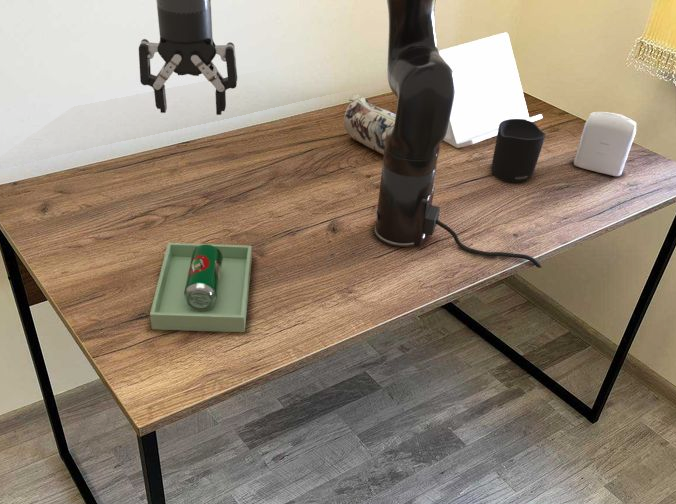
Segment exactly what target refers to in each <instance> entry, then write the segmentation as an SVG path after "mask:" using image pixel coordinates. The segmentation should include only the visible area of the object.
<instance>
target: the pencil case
mask: <svg viewBox="0 0 676 504" xmlns="http://www.w3.org/2000/svg"><path fill="white" fill-rule="evenodd" d="M349 102H350V103H349V105H348V106H347V107H346V110H345V113H344V116H343V128H344V130H345V132H346V133H347V134H348V135H349V136H350V137H351V138H352V139H353V140H354V141H357V142H359V143H360V144H362V145H364V146H365V147H367V148H369V149H371V150H373V151H375V152H377V153H379V154H381V155H383V156H384V149H385V140H386V133H387V130H388V128H389V127H390V126H391V125H393V124H395V118H396V113H393V112H391V111H389V110H387V109H385V108H381V107H379V106H376V105H374V104H372V103H370V101H369V99H367V98H366V97H364V96H363V97H362V96H360V95H359V94H354V95H352V96H351V97H350V99H349Z"/></svg>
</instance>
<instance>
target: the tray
mask: <svg viewBox="0 0 676 504" xmlns="http://www.w3.org/2000/svg"><path fill="white" fill-rule="evenodd" d="M200 245H212V246H214V247H216V248H218V249H219V250H220V252H221V253H222V256H223V261H222V267H221V274H220V280H219V286H218V293H217V299H216V301H215V303H214V304H213V305H212V306H211V307H210V308H209V309H207V310H195V309H193V308H191V307H190V306H189V305H188V304H187V302H186V299H185V297H184V291H185V286H186V282H187V277H188V272H189V267H190V263H191V258H192V253H193V251H194V250H195V248H197V247H198V246H200ZM252 249H253V245H245V244H244V245H241V244H216V243H212V244H211V243H189V242H188V243H187V242H167V245H166V249H165V253H164V257H163V261H162V264H161V268H160V272H159V275H158V280H157V283H156V288H155V292H154V296H153V300H152V304H151V307H150V308H151V309H150V312H149V318H150V326H151V330H157V331H158V330H160V331H161V330H162V331H163V330H164V331H187V332H189V331H191V332H218V333H219V332H221V333H222V332H223V333H225V332H226V333H245V331H246V321H247V314H248V313H247V312H248V303H249V293H250V292H249V291H250V283H251V282H250V281H251V273H252V264H253V263H252V262H253V251H252Z"/></svg>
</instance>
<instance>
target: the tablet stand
mask: <svg viewBox="0 0 676 504" xmlns="http://www.w3.org/2000/svg"><path fill="white" fill-rule="evenodd" d="M438 52H439V54H440V56H441V57H442V58H443V60H444V61H445V62H446V63H447V64H448V65H449V66H450V68H451V69H452V71H453V73H454V76H455V84H456V85H455V96H454V102H453V106H452V111H451V116H450V120H449V125H448V129H447V133H446V135H445V138H444V139H443V141H444V142H446V143H448V144H449V145H450V146H453V147H454V148H457V149H460V148H464V147H468V146H471V145H475V144H477V143H480V142H482V141H485V140H488V139H491V138H493V137H497V134H498V129H499V125H500V123H501V122H502V121H504V120H508V119H524V120H529V121H531V122H533V123H534V122H536V121H538V120H541V119H543V114H542V113H540V114H539V113H538V114H537V115H533V116H529V115H530V114H529V112H528V111H529V110H528V108H527V107H528V106H527V103H526V99H525V95H524V92H523V87H522V84H521V80H520V76H519V71H518V67H517V64H516V59H515V56H514V52H513V47H512V44H511V40H510V35H509V33H507V32H503V33H499V34H495V35H491V36H487V37H484V38H480V39H477V40H473V41H469V42H466V43H462V44H459V45H454V46H451V47H447V48H444V49H440V50H438Z"/></svg>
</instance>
